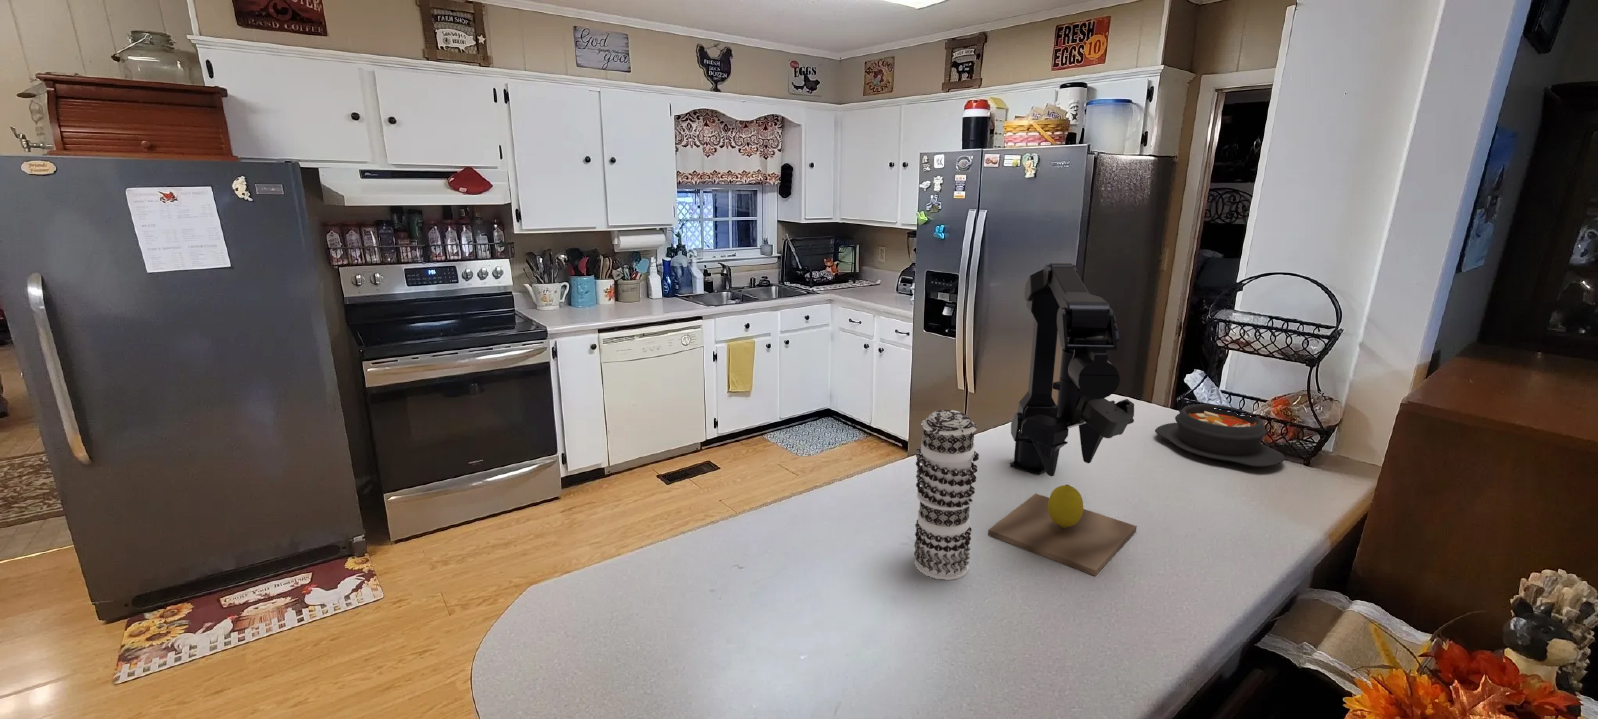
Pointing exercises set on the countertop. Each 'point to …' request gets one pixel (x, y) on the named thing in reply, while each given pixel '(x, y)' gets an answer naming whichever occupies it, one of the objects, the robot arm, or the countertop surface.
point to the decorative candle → (945, 494)
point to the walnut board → (1064, 535)
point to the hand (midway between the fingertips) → (1069, 468)
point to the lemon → (1065, 506)
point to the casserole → (1221, 435)
